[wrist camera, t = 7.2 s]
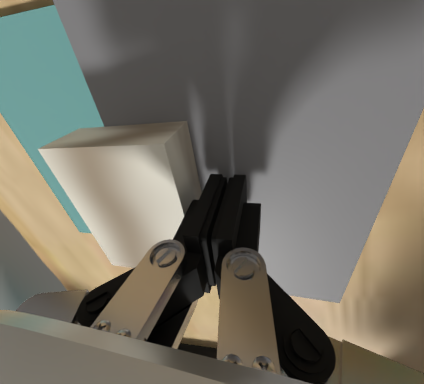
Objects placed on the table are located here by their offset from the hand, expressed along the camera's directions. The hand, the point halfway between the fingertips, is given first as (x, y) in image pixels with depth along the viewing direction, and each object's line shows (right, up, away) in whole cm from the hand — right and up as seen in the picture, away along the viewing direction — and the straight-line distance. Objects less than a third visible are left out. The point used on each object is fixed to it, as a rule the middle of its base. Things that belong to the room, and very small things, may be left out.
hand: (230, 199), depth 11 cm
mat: (-11, +3, +7) cm, 13 cm away
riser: (+1, +3, +4) cm, 5 cm away
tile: (-4, 0, +2) cm, 5 cm away
